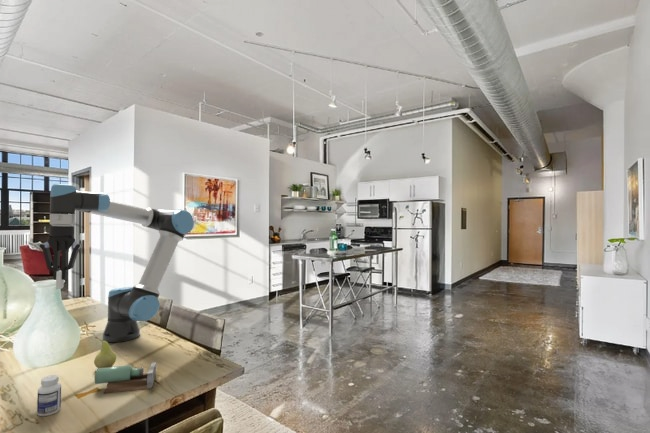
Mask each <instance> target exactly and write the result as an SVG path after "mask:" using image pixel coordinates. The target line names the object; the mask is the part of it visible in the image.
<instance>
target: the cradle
mask: <svg viewBox="0 0 650 433" xmlns="http://www.w3.org/2000/svg"><path fill="white" fill-rule="evenodd" d="M156 378H157V362H156V361H155V362H151V364H150V367H149V368H148V371H147V372H143V376H132V377H131V380H126V381H117V382H108V383H106V387H105V389H104V390H103V394H110V393H111V394H112V393H120V392H128V391H129V392H130V391H137V390H139V391H140V390H148V389H152V388H153V385H154V383H155V379H156Z"/></svg>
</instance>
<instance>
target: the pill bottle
mask: <svg viewBox="0 0 650 433" xmlns="http://www.w3.org/2000/svg"><path fill="white" fill-rule="evenodd" d="M59 377H60V376H59V375H57V374H53V375H48V376H45V377H42V378H41V380H40V387H39V388H38V389H37V402H36V404H37V407H36V413H37V416H39V417H46V416H51V415H54V414H56V413H57V412H59V411H60V409H61V406H62V383H60V382H59V380H60V379H59Z"/></svg>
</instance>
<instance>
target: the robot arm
mask: <svg viewBox="0 0 650 433" xmlns="http://www.w3.org/2000/svg"><path fill="white" fill-rule="evenodd" d="M49 197H50V198H49V200H50V201H49V225H50V226H49V227H48V238H47V240H46V242H44V243H41V244H39V247H40V249H41V250H42V253H43V257H44V261H45V264H46V267H47V270H49V271H52V272H53V273H52V274H53V276H52V277H53V278H52V279H53V280H55V289H56V290H61V289H63V288H64V287H65V286H64V285H65V284H64V283H65V280H67V277H68V271H69V270H72V269H73V268H74V266H75V263H76V260H77V256H78V254H79V250H80V249H81V248H83V244H82V243H79V242H77V241H76V239H75V226H74V225H75V220H76V219H75V215H76V213H75V212H76V211H77V212H83V213H87V214H91V215H97V216H102V217H106V218H112V219H116V220H120V221H126V222H129V223H133V224H134V223H135V224H140V225H141V226H142V227H144V228H148V229H149V228H150V229H153V230H155V231H158V233H159V239H158V240H157V242H156V244H155V246H154V249H153V251H152V253H151V256H150V258H149V260H148V262H147V264H146V266H145V269H144V270H143V273H142V275H141V277H140V280H139V282H138V283H137V284H135V285H133V286H127V287H118V288H113V289H110V290H109V291H108V295H107V300H108V301H107V323H106V325H105V327H104V330H103V333H102V338H101V340H103V341H106V342H107V343H121V342H126V341H132V340H134V339H137V338H138V337H140V334H141V332H140V331H141V329H140V327H139V324H138V322H147V321H149V320H151V319H153V318H154V317H155V316H156V315H157V313H158V311H159V309H160V300H159V296H160V291H159V288H160V286H161V283H162V280H164V279H163V278H164V276H165V274H166V271H167V269H168V268H169V267H168V266H169V265H170V262H171V260H172V257H173V255H174V253H175V250H176V248H177V246H178V243H179V242H181V241H183V240H184V238H185V236H186V235H187V234H189V233H190V232H192V230H193V229H194V226H195V221H194V218H193V215H192V214H191V213H190V212H189V211H187V210H186V209H158V208H157V209H155V208H151V207H147V208H143V207H138V206H135V205H130V204H127V203H122V202H118V201H114V200H111V198H110V195H109V194H108V193H105V192H99V191H95V192H94V191H83V190H82V191H81V190H77V187H76V185H74V184H65V183H63V184H62V183H55V184H53V185H51V188H50V195H49ZM50 247H51V248H52V250H53V251H52V253H53V258H52V254H51V249H50ZM71 247H72V248H73V249H72V251H71V253H70V257H69V251H70V249H71ZM60 264H61V268H60Z"/></svg>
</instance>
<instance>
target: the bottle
mask: <svg viewBox="0 0 650 433" xmlns="http://www.w3.org/2000/svg"><path fill="white" fill-rule="evenodd" d="M143 373H144V367H143V366H142V367H136V368H133V365H131V364H130V365H128V364H127V365H120V366H118V365H117V366H112V367H107V368H97V369H96V371H95V373H94V384H95V385H100V384H108V382H117V381H126V380H131V377H132V376H143Z"/></svg>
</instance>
